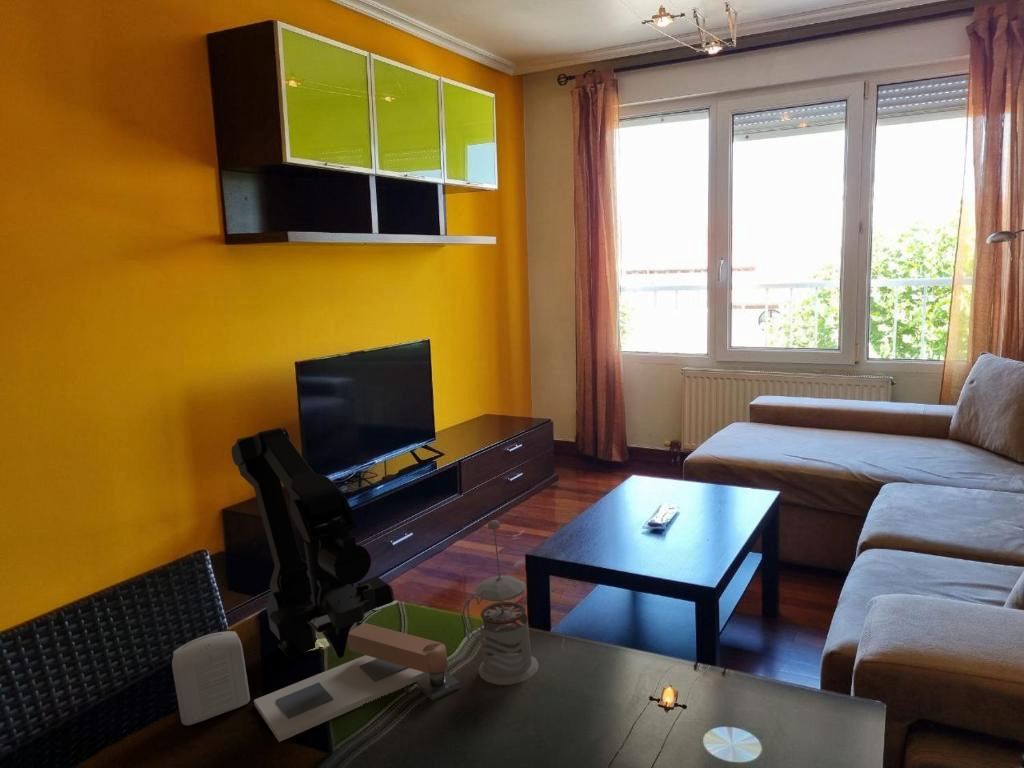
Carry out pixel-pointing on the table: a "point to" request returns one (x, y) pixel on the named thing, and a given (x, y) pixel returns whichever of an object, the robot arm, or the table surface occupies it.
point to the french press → (503, 629)
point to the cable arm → (398, 648)
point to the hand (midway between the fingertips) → (339, 656)
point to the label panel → (332, 694)
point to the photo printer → (210, 676)
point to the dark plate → (438, 684)
